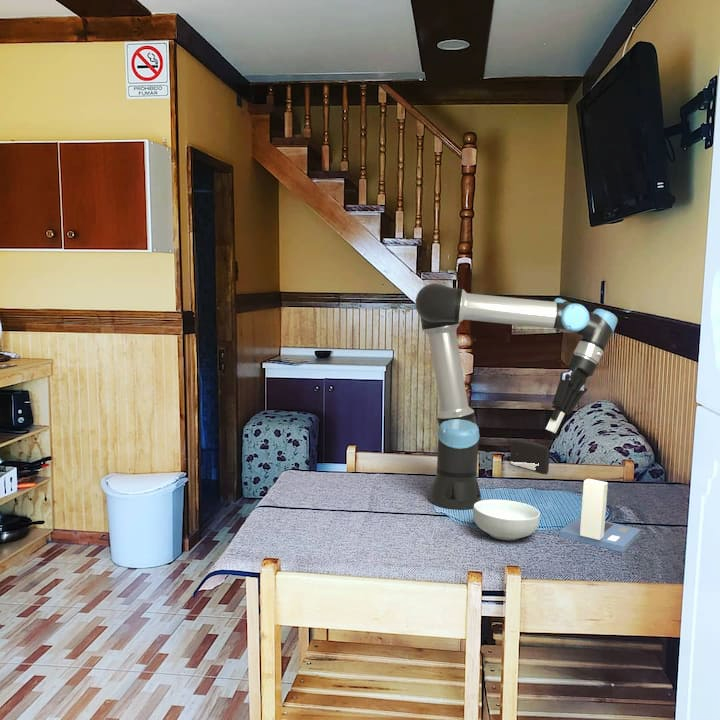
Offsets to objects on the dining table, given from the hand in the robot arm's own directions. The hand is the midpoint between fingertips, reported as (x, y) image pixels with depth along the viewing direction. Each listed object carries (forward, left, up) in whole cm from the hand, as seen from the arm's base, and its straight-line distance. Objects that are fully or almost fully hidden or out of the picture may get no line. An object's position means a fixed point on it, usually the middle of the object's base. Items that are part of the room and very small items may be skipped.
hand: (550, 431), depth 200 cm
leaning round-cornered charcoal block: (+19, +34, -22) cm, 45 cm away
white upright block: (-10, -30, -20) cm, 38 cm away
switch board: (-4, -27, -22) cm, 35 cm away
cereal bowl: (-28, -19, -22) cm, 40 cm away
